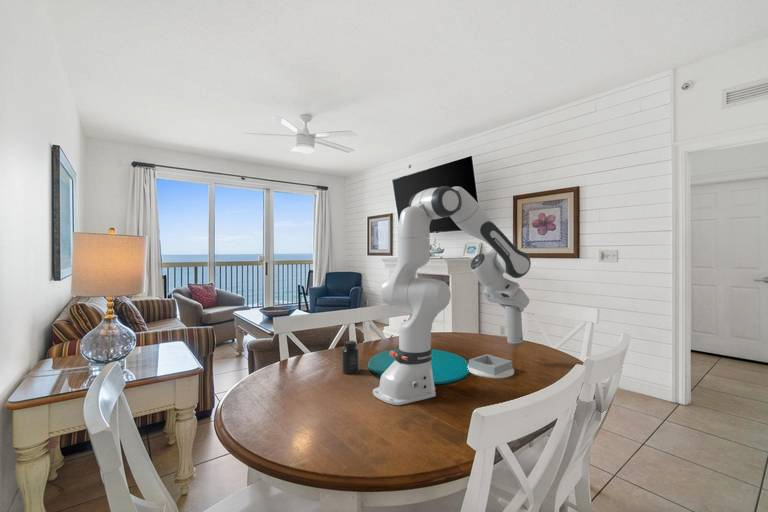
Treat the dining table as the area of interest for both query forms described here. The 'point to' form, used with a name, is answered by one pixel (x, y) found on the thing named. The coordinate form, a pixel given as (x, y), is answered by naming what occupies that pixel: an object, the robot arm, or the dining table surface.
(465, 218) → the robot arm
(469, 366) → the stand
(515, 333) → the travel mug
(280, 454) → the dining table surface
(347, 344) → the supplement bottle
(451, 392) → the dining table surface
